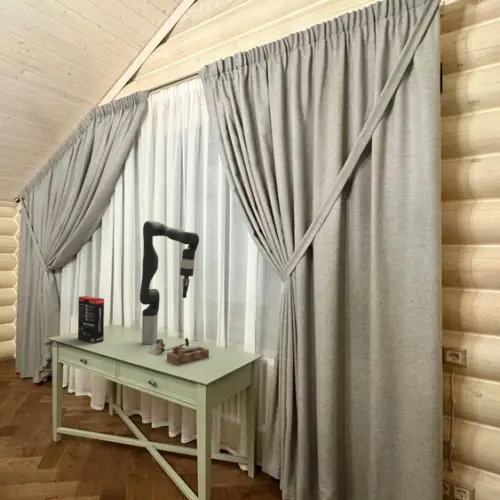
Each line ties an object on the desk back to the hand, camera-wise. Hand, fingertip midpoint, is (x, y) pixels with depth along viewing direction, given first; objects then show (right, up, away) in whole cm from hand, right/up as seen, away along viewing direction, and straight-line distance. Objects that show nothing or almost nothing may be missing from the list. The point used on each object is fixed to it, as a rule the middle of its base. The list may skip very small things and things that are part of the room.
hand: (184, 297), depth 190 cm
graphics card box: (-63, -30, +20) cm, 72 cm away
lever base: (+4, -31, -11) cm, 33 cm away
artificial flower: (-8, -31, +2) cm, 33 cm away
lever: (+4, -26, -11) cm, 29 cm away
